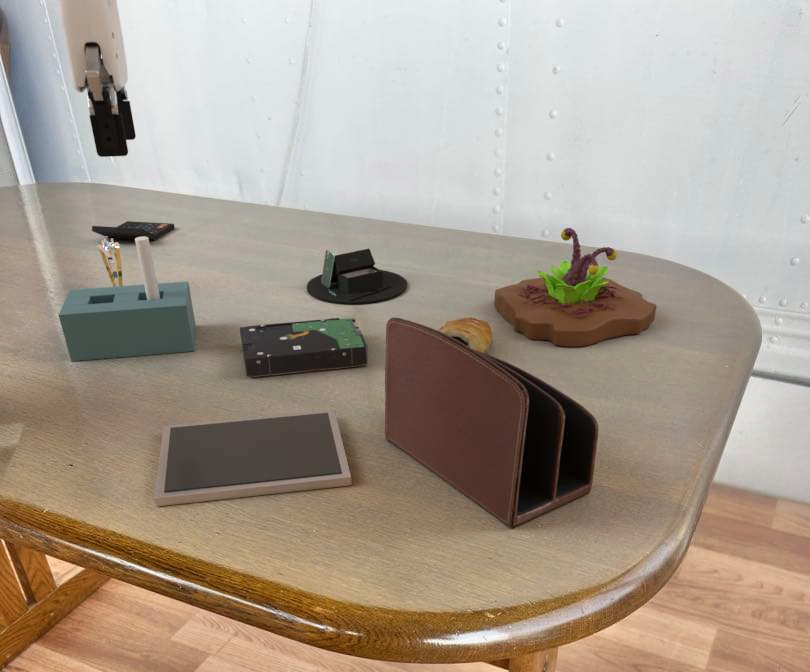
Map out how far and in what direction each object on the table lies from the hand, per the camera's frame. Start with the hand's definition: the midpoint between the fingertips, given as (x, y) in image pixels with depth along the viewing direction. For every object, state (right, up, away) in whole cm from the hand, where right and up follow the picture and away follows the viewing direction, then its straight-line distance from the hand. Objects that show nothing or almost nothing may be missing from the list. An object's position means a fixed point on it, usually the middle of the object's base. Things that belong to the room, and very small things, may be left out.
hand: (117, 147), depth 92 cm
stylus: (+1, -18, +14) cm, 23 cm away
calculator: (-15, +9, +53) cm, 56 cm away
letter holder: (+40, -37, -12) cm, 56 cm away
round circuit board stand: (+25, -7, +30) cm, 40 cm away
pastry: (+40, -21, +11) cm, 46 cm away
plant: (+55, -14, +19) cm, 60 cm away
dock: (-2, -19, +13) cm, 23 cm away
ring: (-10, -8, +28) cm, 31 cm away
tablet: (+17, -36, -11) cm, 42 cm away
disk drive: (+20, -22, +9) cm, 31 cm away
